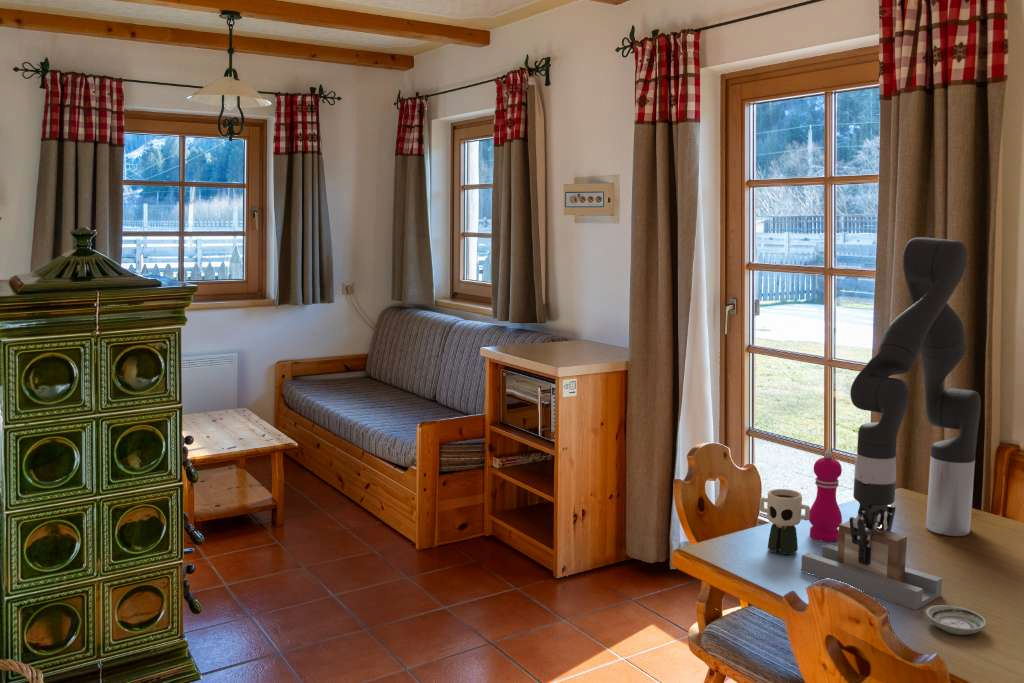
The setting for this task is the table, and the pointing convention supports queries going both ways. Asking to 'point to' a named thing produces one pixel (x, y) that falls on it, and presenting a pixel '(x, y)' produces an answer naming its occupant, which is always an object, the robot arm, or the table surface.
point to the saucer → (956, 619)
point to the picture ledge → (875, 579)
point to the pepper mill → (826, 500)
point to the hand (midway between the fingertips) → (870, 560)
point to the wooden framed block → (875, 552)
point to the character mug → (784, 518)
